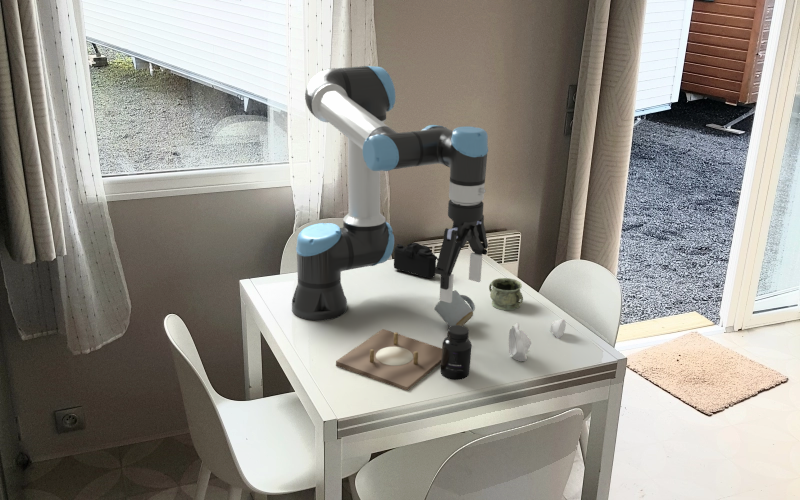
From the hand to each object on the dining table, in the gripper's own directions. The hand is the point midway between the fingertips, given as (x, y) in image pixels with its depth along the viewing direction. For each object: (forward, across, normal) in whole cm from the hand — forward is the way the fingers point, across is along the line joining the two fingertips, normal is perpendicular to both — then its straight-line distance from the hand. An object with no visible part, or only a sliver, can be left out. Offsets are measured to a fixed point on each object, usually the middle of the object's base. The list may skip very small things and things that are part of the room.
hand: (460, 290), depth 175 cm
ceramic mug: (+22, +23, +12) cm, 34 cm away
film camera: (+22, +49, +40) cm, 67 cm away
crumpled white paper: (+22, +15, -10) cm, 29 cm away
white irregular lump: (+22, +32, -12) cm, 41 cm away
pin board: (+22, -3, +15) cm, 27 cm away
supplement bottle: (+22, 0, 0) cm, 22 cm away
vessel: (+22, +42, +7) cm, 48 cm away
